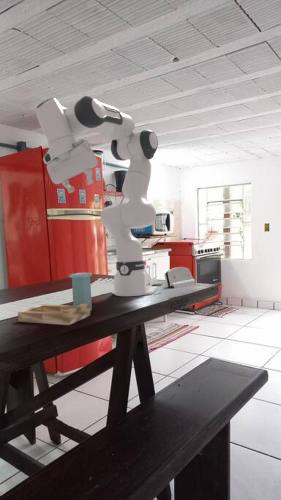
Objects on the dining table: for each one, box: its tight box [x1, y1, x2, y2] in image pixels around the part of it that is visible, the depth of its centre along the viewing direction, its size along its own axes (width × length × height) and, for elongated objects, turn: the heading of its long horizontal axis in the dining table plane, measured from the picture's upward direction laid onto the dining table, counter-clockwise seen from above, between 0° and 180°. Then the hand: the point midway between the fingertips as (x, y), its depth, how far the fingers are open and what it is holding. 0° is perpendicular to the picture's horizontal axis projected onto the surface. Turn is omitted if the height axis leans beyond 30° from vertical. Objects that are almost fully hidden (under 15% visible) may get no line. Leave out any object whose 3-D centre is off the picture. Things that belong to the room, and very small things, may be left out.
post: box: [69, 272, 93, 312], centre depth 119 cm, size 6×6×13 cm
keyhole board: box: [17, 303, 91, 326], centre depth 111 cm, size 12×19×4 cm, turn 67°
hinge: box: [164, 266, 197, 289], centre depth 168 cm, size 17×5×10 cm, turn 133°
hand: (81, 188), depth 118 cm, fingers open, 8 cm apart
